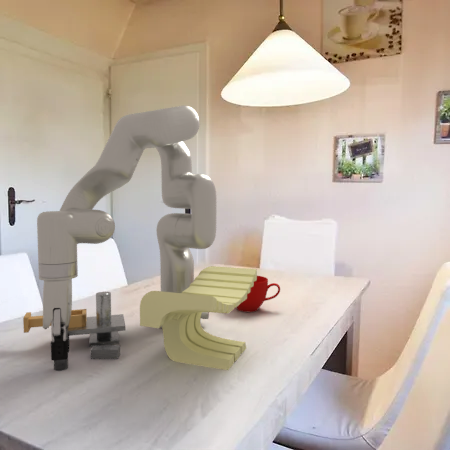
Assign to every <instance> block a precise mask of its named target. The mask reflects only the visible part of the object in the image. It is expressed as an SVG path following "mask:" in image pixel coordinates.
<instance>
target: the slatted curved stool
mask: <svg viewBox="0 0 450 450" xmlns="http://www.w3.org/2000/svg"><path fill="white" fill-rule="evenodd" d="M257 273H258V269H256V268H245V267H244V268H242V267H231V266H230V267H229V266H216V265H215V266H213V265H212V266H211V265H210V266H208V267H204V268H203V269H202V270H200V271H199V273H198V275H197V276H195V277H194V282H192V283H191V284H190V286H189V288H187V289H186V290H184V291H183V292H182V293H173V292H163V291H161V290H151V291H150V290H149V291H147V293H145V294H144V295H143V296H142V298H141V300H140V303H139V326H140V327H147V328H153V329H160V328H161V326H162V328H161V329H162V336H163V346H164V350H165V353H166V355H167V356H168V358H169V359H170V360H171V361H173V362H175V363H182V364H187V365H194V366H199V367H204V368H209V369H217V370H224V371H229V370H231V369H230V368H232V366H233V365H234V363H235V362H236V361H237V360H238V359H239V358H240V357H241V355H242V354H243V353H244V352H245V351H246V349H247V345H246V341H241V340H235V339H228V338H224V337H219V336H216V335H213V334H211V333H209V332H207V331H206V330H205V329H204V328H203V327H202V324H201V320H202V318H201V314H202V312H209V313H216V314H217V313H219V314H230V313H231V312H232V311H234V310H235V308H236V307H237V306H238V305H240V304H241V302H243V301H245V300H246V299H247V294H249V293H250V287H253V286H254V281H256V280H257V276H258V274H257ZM236 309H237V308H236Z"/></svg>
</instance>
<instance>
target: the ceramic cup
mask: <svg viewBox="0 0 450 450" xmlns="http://www.w3.org/2000/svg"><path fill="white" fill-rule="evenodd" d="M273 286H274V287H277V291H276V293H275V294H274V295H272V296H269V297H267V292H268V290H269V289H270V288H271V287H273ZM280 292H281V287H280V285H279V284H278V283H275V282H274V283H270V284H269V280H268V277H265V276H263V275H262V276H261V275H257V280H256V281H254V286H253V287H250V293H249V294H247V299H246V300H245V301H243V302H241V304H240V305H238V306H237V307H236V309H237V310H238V311H240V312H244V313H246V312H247V313H252V312H256V311H258V309H260V307H262V305H263V303H264V302H266V301H270V300H272V299H275V298H276V297H277V296H278V295H279V294H280Z"/></svg>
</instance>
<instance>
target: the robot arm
mask: <svg viewBox="0 0 450 450" xmlns="http://www.w3.org/2000/svg"><path fill="white" fill-rule="evenodd" d="M200 125H201V124H200V117H199V114H198V113H197V111H196V109H194V108H193V107H191V106H189V105H178V106H171V107H165V108H159V109H154V110H149V111H147V110H146V111H143V112H141V111H140V112H137V113H130V114H126V115H124V116H122V117H120V118H119V119H118V121H117V122H116V123H115V124H114V127H113V129H112V131H111V133H110V135H109V137H108V139H107V140H106V141H107V142H106V143H105V145H104V148H103V150H102V152H101V154H100V156H99V158H98V160H97V162H96V163H95V164H94V166H93V167H91V169H89V170H88V171H87V172H86V173H85V174H84V175H83V176H82V177H81V178H80V179H79V180H78V181H77V182H76V183H75V184H74V185H73V186H72V188H71V189H70V191H69V192H68V193H67V195H66V196H65V198H64V201H63V203H62V205H61V207H60V209H59V211H58V210H52V211H50V210H49V211H48V210H47V211H42V212H40V213H39V214H38V215H37V218H36V219H37V220H36V228H37V231H36V232H37V260H38V261H37V262H38V263H37V267H38V269H37V270H38V280H40V281H43V285H42V286H43V288H42V289H43V291H42V316H43V327H42V328H43V329H44V330H47V329H49V328H51V329H50V330H51V331H50V332H51V341H50V351H51V352H50V354H51V355H50V357H51V361H53V362H54V361H56V360H65V359H68V360H69V352H70V336H69V334H68V328H67V336H68V340H66V327H67V326H69V323H70V318H71V311H72V310H73V280H72V279H75V278H78V277H79V276H78V271H79V270H78V244H91V245H93V244H95V245H98V244H102V243H104V242H107V241H108V240H109V239H110V238H111V237H112V236H113V235H114V233H115V230H116V224H115V221H114V219H113V217H112V216H111V214H109V213H108V212H106V211H104V210H100V209H94V208H95V206H96V205H97V204H98V202H100V201H101V200H102V199H103V198H104V197H106V196H107V195H109V194H110V193H112V192H114V191H116V190H118V189H120V188H121V187H123V186H125V185H126V184H128V183H129V182H130V181H131V180H132V177H133V175H134V173H135V171H136V168H137V166H138V164H139V162H140V159H141V157H142V155H143V152H144V151H145V150H146V149H152V148H153V149H154V148H156V150H157V152H158V155H159V157H160V164H161V165H160V169H161V174H160V175H161V177H160V178H161V197H162V203H164V205H165V206H166V207H168V208H170V209H180V210H181V209H183V210H184V209H185V210H189V209H190V213H184V212H183V213H181V212H180V213H178V212H173V213H168V214H165V215H163V216H162V217H161V218H159V220H158V222H157V224H156V238H157V242H158V248H159V255H160V256H159V257H160V258H159V259H160V260H159V262H160V266H159V267H160V269H159V270H160V291H163V292H173V293H182V292H183V291H184V290H186V289H187V288H189V286H190V284H191V283H192V282H194V279H195V262H194V257H193V254H192V251H191V250H190V249H196V250H205V249H208V248H210V247H211V246H212V245H213V244H214V241H215V239H216V236H217V235H216V234H217V191H216V186H215V184H214V182H213V180H212V178H211V177H210V176H208V175H207V174H202V173H193V167H192V166H193V165H192V156H191V152H190V150H189V148H188V147H187V145H186V143H185V141H188V140H191V139H193V138H194V137H195V136H196V135H197V134H198V132H199V130H200ZM209 313H210V312H202V314H201V320H209V317H210V314H209ZM62 323H64V325H62V326H61V324H62ZM50 324H51V326H50ZM160 328H161V329H162V326H161V327H160ZM62 329H63V331H61V330H62Z"/></svg>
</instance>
